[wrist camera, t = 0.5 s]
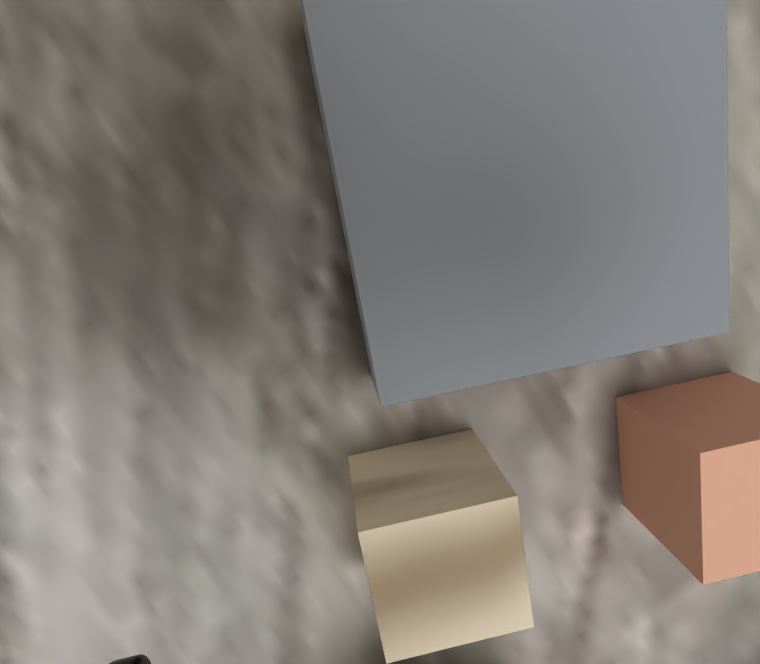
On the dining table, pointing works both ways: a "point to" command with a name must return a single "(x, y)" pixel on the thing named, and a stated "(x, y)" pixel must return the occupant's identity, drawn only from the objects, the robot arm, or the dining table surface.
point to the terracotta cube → (696, 471)
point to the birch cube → (440, 544)
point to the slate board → (525, 180)
